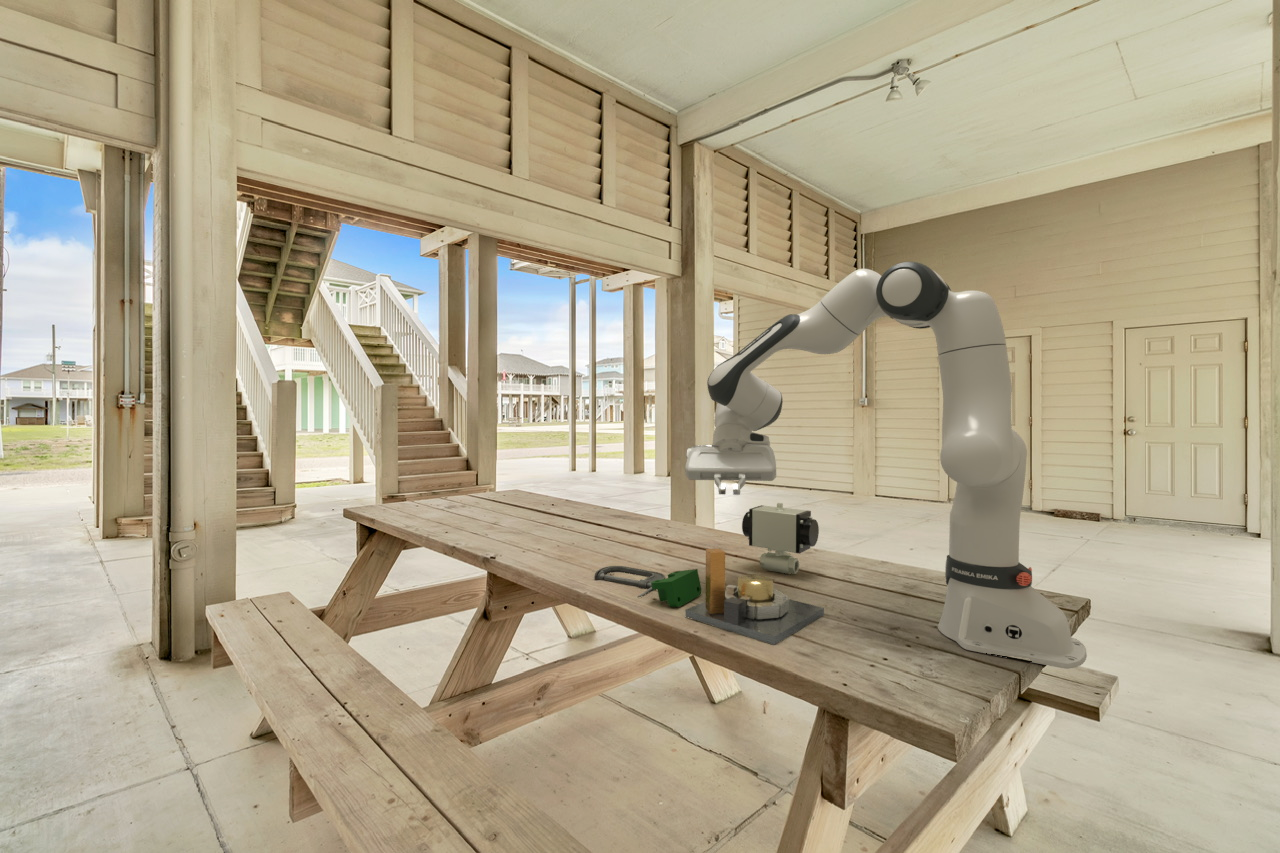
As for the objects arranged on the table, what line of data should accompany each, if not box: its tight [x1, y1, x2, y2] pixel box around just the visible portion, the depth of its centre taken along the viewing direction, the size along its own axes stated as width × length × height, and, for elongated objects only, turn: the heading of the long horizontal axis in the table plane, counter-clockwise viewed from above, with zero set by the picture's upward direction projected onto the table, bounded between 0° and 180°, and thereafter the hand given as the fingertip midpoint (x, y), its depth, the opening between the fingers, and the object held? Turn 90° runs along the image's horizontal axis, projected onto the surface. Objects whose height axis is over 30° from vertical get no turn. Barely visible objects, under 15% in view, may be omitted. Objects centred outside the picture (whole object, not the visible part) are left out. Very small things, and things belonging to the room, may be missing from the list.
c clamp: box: [593, 565, 666, 598], centre depth 140 cm, size 20×17×3 cm
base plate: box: [684, 573, 825, 646], centre depth 116 cm, size 20×20×8 cm
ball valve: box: [741, 502, 820, 575], centre depth 148 cm, size 18×8×18 cm, turn 52°
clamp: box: [651, 568, 702, 608], centre depth 126 cm, size 12×6×9 cm, turn 140°
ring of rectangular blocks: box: [705, 548, 790, 619], centre depth 116 cm, size 16×12×12 cm
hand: (729, 493), depth 125 cm, fingers closed
